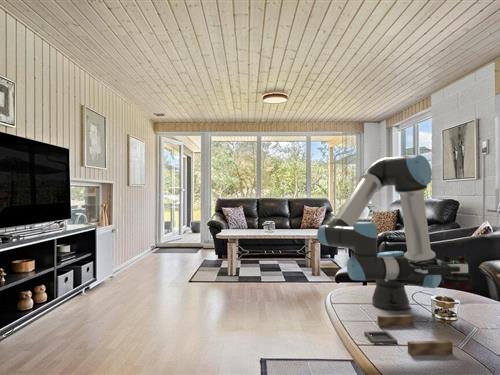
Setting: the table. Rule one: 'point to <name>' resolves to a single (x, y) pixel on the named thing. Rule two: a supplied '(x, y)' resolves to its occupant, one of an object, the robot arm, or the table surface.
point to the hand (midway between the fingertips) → (461, 266)
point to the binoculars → (456, 275)
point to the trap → (380, 337)
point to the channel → (416, 346)
